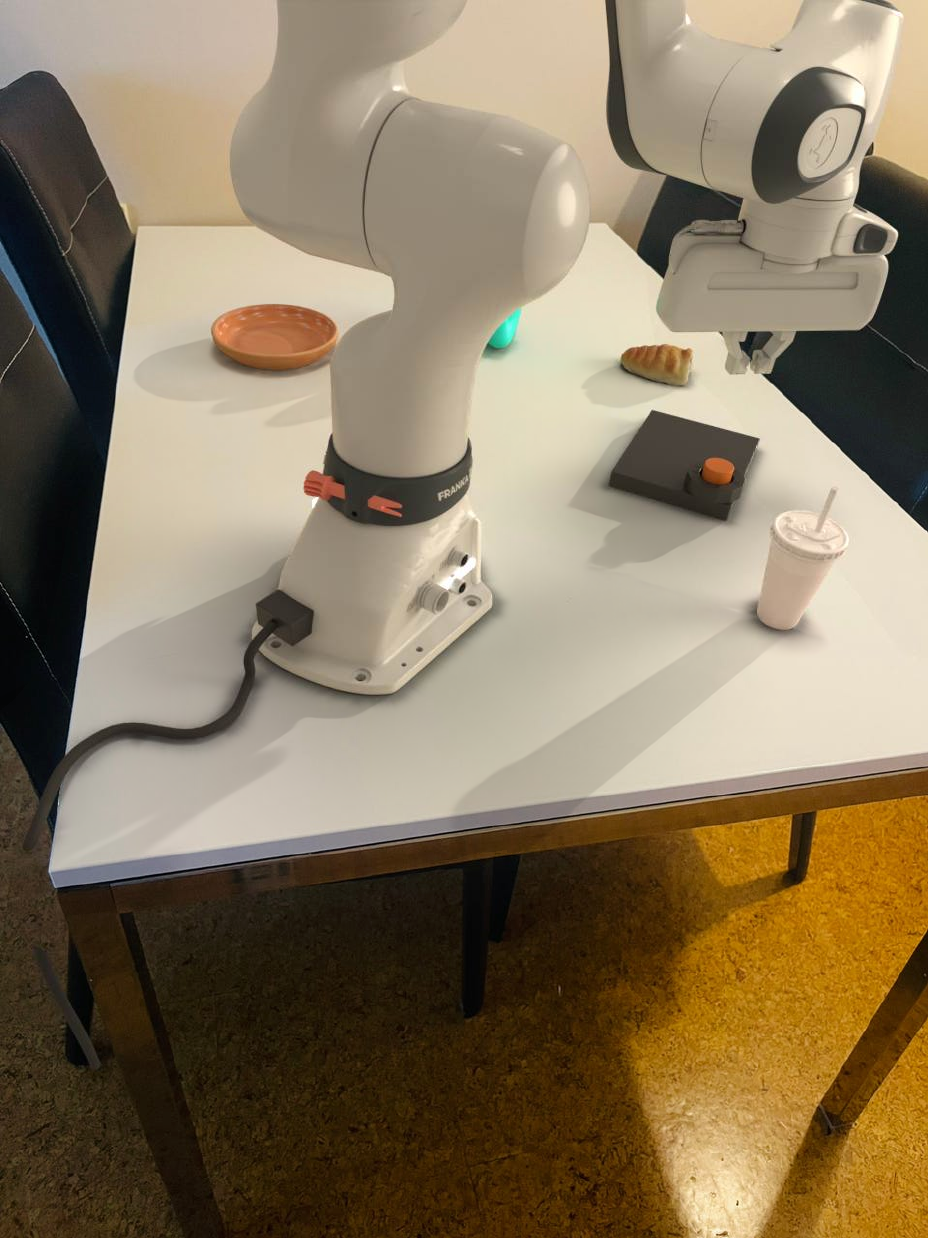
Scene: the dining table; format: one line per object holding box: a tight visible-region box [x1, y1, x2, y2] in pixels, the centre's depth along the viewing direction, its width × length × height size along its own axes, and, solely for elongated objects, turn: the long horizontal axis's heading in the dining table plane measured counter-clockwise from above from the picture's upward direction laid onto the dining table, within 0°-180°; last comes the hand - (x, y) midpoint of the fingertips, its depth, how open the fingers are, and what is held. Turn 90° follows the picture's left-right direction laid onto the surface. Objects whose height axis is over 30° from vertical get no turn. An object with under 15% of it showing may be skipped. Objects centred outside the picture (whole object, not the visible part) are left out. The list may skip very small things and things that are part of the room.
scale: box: [608, 409, 761, 521], centre depth 99 cm, size 16×13×4 cm
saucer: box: [210, 303, 339, 371], centre depth 115 cm, size 16×16×3 cm
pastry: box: [620, 343, 694, 387], centre depth 117 cm, size 9×7×4 cm
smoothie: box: [756, 486, 850, 631], centre depth 77 cm, size 6×6×14 cm
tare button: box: [702, 458, 734, 485], centre depth 93 cm, size 3×3×2 cm
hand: (747, 371), depth 85 cm, fingers closed
